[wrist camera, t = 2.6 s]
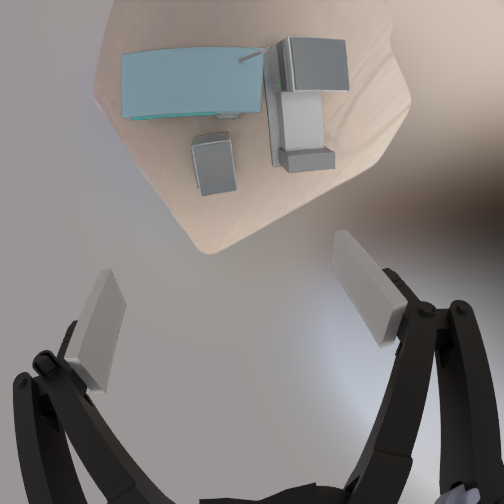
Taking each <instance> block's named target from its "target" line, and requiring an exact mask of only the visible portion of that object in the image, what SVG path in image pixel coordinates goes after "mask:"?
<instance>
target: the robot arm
mask: <svg viewBox="0 0 504 504" xmlns="http://www.w3.org/2000/svg"><path fill="white" fill-rule="evenodd" d="M332 271H333V272H334V274H335V275H336V277H337V279H338V280H339V282H340V283H341V285H342V286H343V288H344V289H345V291H346V293H347V294H348V296H349V297H350V299H351V301H352V302H353V304H354V305H355V307H356V309H357V310H358V312H359V313H360V315H361V317H362V318H363V320H364V322H365V323H366V325H367V327H368V328H369V330H370V332H371V333H372V335H373V337H374V338H375V340H376V342H377V343H378V345H379V347H380V348H383V347H385V346H388V345H391V344H393V343H394V341H395V338H396V336H397V337H398V338H399V340H400V344H399V346H398V348H397V351H396V353H395V355H396V358H395V361H394V366H393V369H392V372H391V376H390V379H389V382H388V385H387V389H386V392H385V395H384V398H383V401H382V404H381V406H380V409H379V412H378V415H377V417H376V420H375V423H374V425H373V428H372V431H371V433H370V436H369V438H368V440H367V443H366V445H365V447H364V450H363V452H362V454H361V457H360V459H359V461H358V463H357V465H356V467H355V469H354V470H353V472H352V474H351V475H350V477H349V479H348V481H347V483H346V485H345V487H344V489H339V488H336V487H330V486H316V483H311V484H308V485H303V486H300V487H295V488H291V489H286V490H284V491H282V492H280V493H277V494H275V495H272V496H270V497H268V498H265V499H262V500H259V501H252V500H242V499H233V498H219V499H200V504H397V503H398V501H399V498H400V496H401V494H402V491H403V489H404V486H405V484H406V481H407V478H408V476H409V473H410V470H411V467H412V462H413V459H412V457H411V453H412V450H413V447H414V443H415V440H416V437H417V433H418V430H419V426H420V422H421V418H422V414H423V410H424V406H425V401H426V397H427V392H428V386H429V381H430V376H431V370H432V364H433V356H434V350H435V357H436V366H437V374H438V385H439V396H440V416H441V457H440V481H439V484H440V495H441V496H440V497H439V498H438V499H437V500H436V502H435V504H504V465H503V461H502V459H501V440H500V429H499V419H498V411H497V404H496V399H495V392H494V387H493V382H492V377H491V372H490V368H489V364H488V359H487V355H486V352H485V348H484V344H483V340H482V337H481V334H480V330H479V327H478V324H477V321H476V318H475V315H474V312H473V309H472V307H471V306H470V305H469V304H468V303H467V302H465V301H462V300H455V301H453V302H452V303H451V305H450V307H449V309H436V308H435V306H434V305H432V304H431V303H428V302H424V301H420V300H419V299H418V298H417V296H416V295H415V294H414V293H413V292H412V290H411V289H410V288H409V287H408V286H407V285H406V284H405V282H404V281H403V280H401V278H400V277H399V275H398V274H397V273H395V272H394V271H392V270H391V269H389V268H386V269H381V268H380V267H379V266H378V265H377V264H376V263H375V262H374V260H373V259H372V258H371V257H370V256H369V255H368V253H367V252H366V251H365V250H364V249H363V248H362V247H361V246H360V244H359V243H358V242H357V241H356V240H355V239H354V238H353V237H352V236H351V234H350V233H349V232H348V231H347V230H341V231H335V232H334V248H333V265H332ZM126 305H127V304H126V302H125V300H124V298H123V295H122V293H121V291H120V289H119V286H118V284H117V282H116V279H115V278H114V275H113V272H112V270H111V269H108V270H102V271H100V272H99V274H98V277H97V278H96V281H95V283H94V285H93V287H92V289H91V291H90V294H89V296H88V298H87V300H86V303H85V305H84V307H83V310H82V312H81V315H80V317H79V319H78V320H77V321H73V322H72V324H71V325H70V326H69V327H68V329H67V332H66V334H65V337H64V339H63V343H62V344H61V347H60V349H59V352H58V355H57V358H56V357H55V356H54V354H53V353H52V352H51V351H49V350H44V351H42V352H40V353H39V354H38V355H37V356H36V357H35V358H34V361H33V365H32V366H33V369H34V370H35V371H36V372H37V373H38V374H39V376H37V377H34V378H32V377H31V376H30V375H29V373H27V372H23V373H21V374H19V375H18V376H17V377H16V378H15V380H14V382H13V408H14V422H15V433H16V442H17V449H18V456H19V462H20V467H21V473H22V477H23V482H24V486H25V490H26V494H27V498H28V502H29V504H88V503H87V501H86V499H85V496H84V493H83V491H82V488H81V485H80V482H79V480H78V477H77V474H76V471H75V468H74V464H73V461H72V458H71V454H70V451H69V447H68V443H67V439H66V435H65V432H66V434H67V435H68V438H69V440H70V442H71V443H72V445H73V447H74V449H75V451H76V452H77V454H78V456H79V458H80V459H81V461H82V463H83V464H84V466H85V467H86V469H87V471H88V472H89V474H90V476H91V477H92V478H93V480H94V481H95V483H96V485H97V486H98V488H99V489H100V490H101V492H102V493H103V495H104V496H105V497H106V499H107V501H108V503H107V504H175V503H174V502H173V501H172V500H170V499H169V498H168V497H166V496H165V495H164V494H163V493H162V492H161V491H160V490H159V489H158V488H157V486H156V485H155V484H154V483H153V482H152V481H151V480H150V479H149V478H148V477H147V475H146V474H145V473H144V472H143V471H142V470H141V468H140V467H139V466H138V465H137V464H136V462H135V461H134V460H133V459H132V457H131V456H130V455H129V454H128V452H127V451H126V450H125V449H124V447H123V446H122V445H121V443H120V442H119V440H118V439H117V438H116V436H115V435H114V434H113V432H112V431H111V429H110V428H109V426H108V425H107V424H106V422H105V421H104V419H103V418H102V416H101V415H100V413H99V411H98V410H97V408H96V407H95V405H94V404H93V402H92V400H91V399H90V397H89V396H88V395H87V394H86V390H87V387H88V388H89V389H90V390H91V391H92V392H93V393H106V391H107V385H108V380H109V375H110V370H111V366H112V361H113V357H114V352H115V347H116V344H117V339H118V335H119V332H120V327H121V324H122V320H123V316H124V312H125V309H126ZM64 430H65V431H64Z"/></svg>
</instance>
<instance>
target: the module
mask: <svg viewBox="0 0 504 504" xmlns="http://www.w3.org/2000/svg"><path fill="white" fill-rule="evenodd" d="M191 154H192V160H193V165H194V171H195V176H196V182H197V187H198V188H199V191H200V196H206V195H212V194H218V193H224V192H230V191H236V190H237V182H236V175H235V167H234V160H233V152H232V144H231V139H230V137H229V135H228V133H227V132H223V133H217V134H211V135H205V136H199V137H194V140H193V143H192V150H191Z"/></svg>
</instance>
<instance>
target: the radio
mask: <svg viewBox="0 0 504 504" xmlns="http://www.w3.org/2000/svg"><path fill="white" fill-rule="evenodd" d="M266 52H267V50H265V49H264V48H249V47H185V48H170V49H159V50H150V51H142V52H135V53H129V54H124V55H123V56H122V69H121V106H122V118H130V119H131V120H146V119H151V118H163V117H177V116H200V115H215V117H216V118H218V119H219V120H220V119H229V118H230V119H235V118H238V117H240V113H260V112H261V105H262V85H263V65H264V54H265V53H266Z"/></svg>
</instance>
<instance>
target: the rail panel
mask: <svg viewBox="0 0 504 504" xmlns="http://www.w3.org/2000/svg"><path fill="white" fill-rule="evenodd" d="M261 48H264V49H265V50H267V52H266V53H265V54H264V65H263V75H264V84H265V93H266V103H267V112H268V123H269V133H270V144H271V155H272V166H273V167H277V166H282V165H281V164H279V155H278V148H282V149H283V150H285V151H296V150H308V149H321V148H324V138H323V117H322V101H321V91H309V92H274V93H273V90H272V80H271V71H270V62H269V53H268V50H269V49H270V48H272V47H261Z"/></svg>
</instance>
